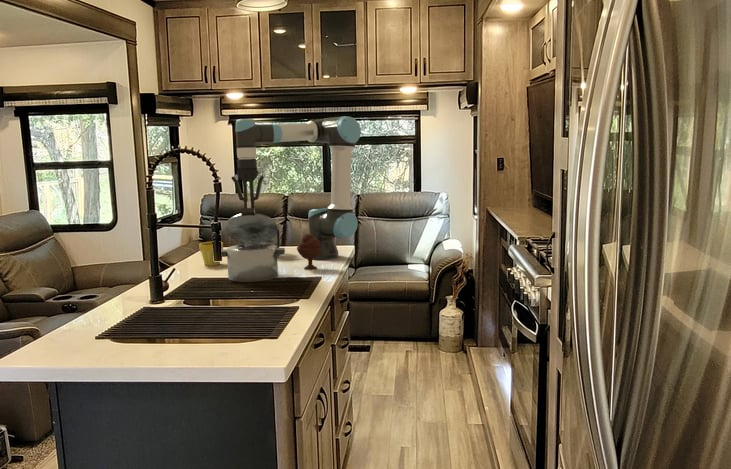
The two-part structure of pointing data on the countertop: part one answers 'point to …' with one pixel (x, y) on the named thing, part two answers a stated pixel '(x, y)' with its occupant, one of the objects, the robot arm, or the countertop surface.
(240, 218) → the cooker lid
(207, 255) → the plant pot
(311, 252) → the ice cream bowl
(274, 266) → the cooker pot
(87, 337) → the countertop surface
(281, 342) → the countertop surface
